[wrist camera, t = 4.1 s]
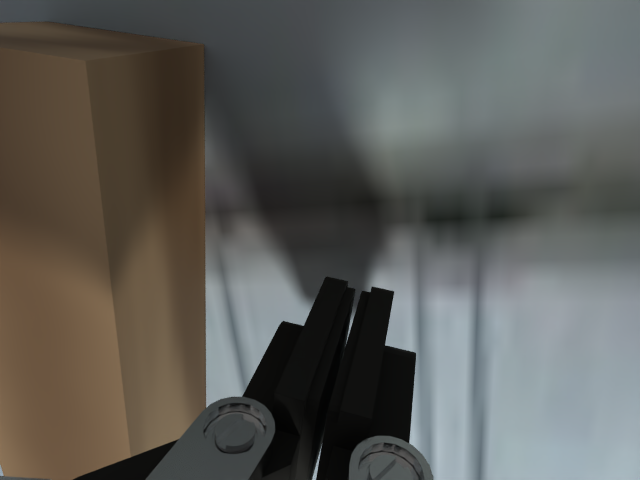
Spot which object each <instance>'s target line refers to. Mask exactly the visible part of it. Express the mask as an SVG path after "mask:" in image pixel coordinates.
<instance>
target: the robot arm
mask: <svg viewBox="0 0 640 480" xmlns="http://www.w3.org/2000/svg"><path fill="white" fill-rule="evenodd" d="M354 295H355V289H353V288H348V281H344V280H340V279H335V278H331V277H326V278H325V279H324V282H323V284H322V286H321V289H320V291H319V293H318V295H317V298H316V300H315V302H314V304H313V307H312V309H311V311H310V313H309V316H308V318H307V320H306V322H305V325H304V326H302V325H298V324H293V323H289V322H285V321H283V322H281V324H280V325H279V327H278V329H277V331H276V333H275V335H274V337H273V339H272V341H271V343H270V344H269V346H268V348H267V350H266V352H265V354H264V356H263V358H262V360H261V362H260V364H259V366H258V367H257V369H256V371H255V373H254V375H253V377H252V379H251V381H250V383H249V385H248V387H247V389H246V391H245V392H244V394H243V396H242V397H229V398H224V399H220V400H218V401H216V402H214V403H212V404H210V405H209V406H208V407H207V408H206V409H204V410H203V411H202V412H201V413H200V415H199V416H198V417H197V418H196V419H195V421H194V422H193V423H192V424H191V425H190V427H189V428H188V429H187V430H186V431H185V433H184V434H183V435H182V436H181V437H180V439H178V440H175V441H172V442H170V443H167V444H164V445H162V446H159V447H156V448H154V449H151V450H148V451H146V452H143V453H140V454H138V455H135V456H132V457H130V458H127V459H124V460H122V461H119V462H116V463H114V464H111V465H108V466H106V467H103V468H100V469H98V470H95V471H92V472H90V473H87V474H84V475H82V476H79V477H77V478H75V479H73V480H312V477H313V474H314V470H315V467H316V463H317V459H318V456H319V452H320V449H321V454H320V460H319V466H318V472H317V478H316V480H433V475H432V472H431V469H430V465H429V464H428V462H427V461H426V459H425V458H424V456H423V455H422V454H421V453H420V452H419V451H418V450H417V449H416V448H415V447H414V446H413V445H411V444H409V439H410V426H411V413H412V401H413V388H414V375H415V363H416V353H415V352H410V351H406V350H402V349H398V348H394V347H390V346H385V341H386V335H387V330H388V324H389V318H390V312H391V307H392V301H393V295H394V291H389V290H385V289H380V288H376V287H372V289H371V292H366V291H362V292H361V296H360V299H359V303H358V306H357V309H356V313H355V316H354V320H353V323H352V327H351V330H350V334H349V337H348V340H347V335H348V330H349V324H350V318H351V312H352V306H353V301H354ZM346 341H347V344H346ZM321 445H322V448H321ZM0 480H51V479H42V478H25V477H9V476H0Z"/></svg>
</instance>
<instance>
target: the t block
mask: <svg viewBox="0 0 640 480" xmlns="http://www.w3.org/2000/svg"><path fill="white" fill-rule="evenodd" d="M204 409H206V309H205V98H204V44H199V43H192V42H185V41H178V40H171V39H164V38H157V37H151V36H144V35H137V34H130V33H123V32H116V31H109V30H102V29H95V28H88V27H81V26H75V25H68V24H61V23H54V22H12V23H0V465H1V468H2V471H3V474H4V476H9V477H25V478H42V479H51V480H73V479H75V478H77V477H79V476H82V475H84V474H87V473H90V472H92V471H95V470H98V469H100V468H103V467H106V466H108V465H111V464H114V463H116V462H119V461H122V460H124V459H127V458H130V457H132V456H135V455H138V454H140V453H143V452H146V451H148V450H151V449H154V448H156V447H159V446H162V445H164V444H167V443H170V442H172V441H175V440H178V439H180V437H181V436H182V435H183V434H184V433H185V431H186V430H187V429H188V428H189V427H190V425H191V424H192V423H193V422H194V421H195V419H196V418H197V417H198V416H199V415H200V413H201V412H202V411H203V410H204Z"/></svg>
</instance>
